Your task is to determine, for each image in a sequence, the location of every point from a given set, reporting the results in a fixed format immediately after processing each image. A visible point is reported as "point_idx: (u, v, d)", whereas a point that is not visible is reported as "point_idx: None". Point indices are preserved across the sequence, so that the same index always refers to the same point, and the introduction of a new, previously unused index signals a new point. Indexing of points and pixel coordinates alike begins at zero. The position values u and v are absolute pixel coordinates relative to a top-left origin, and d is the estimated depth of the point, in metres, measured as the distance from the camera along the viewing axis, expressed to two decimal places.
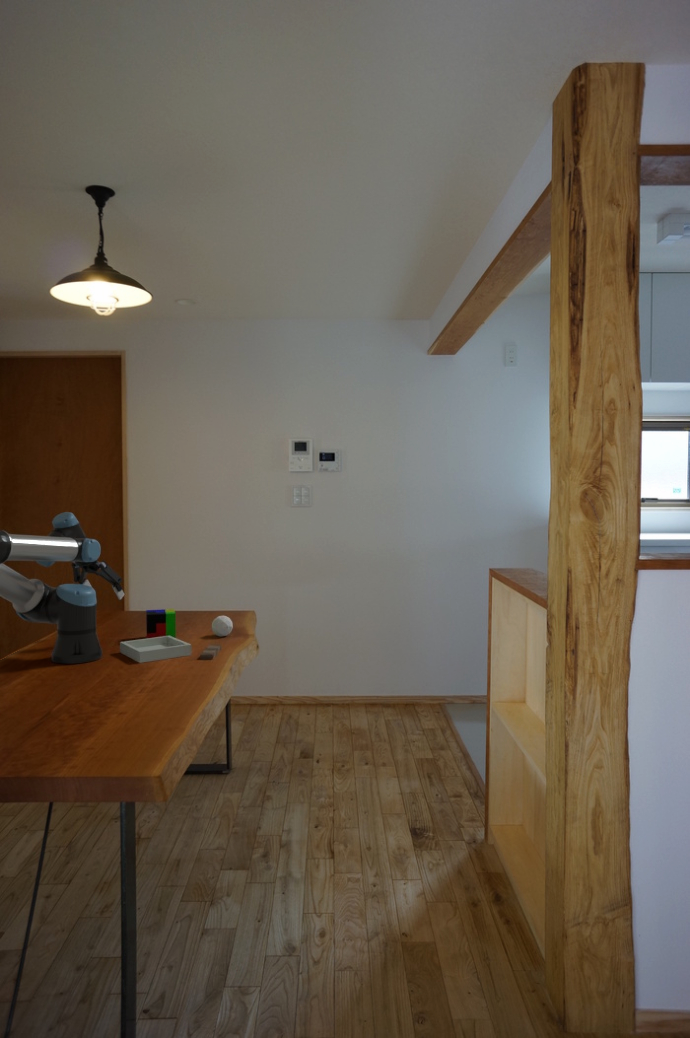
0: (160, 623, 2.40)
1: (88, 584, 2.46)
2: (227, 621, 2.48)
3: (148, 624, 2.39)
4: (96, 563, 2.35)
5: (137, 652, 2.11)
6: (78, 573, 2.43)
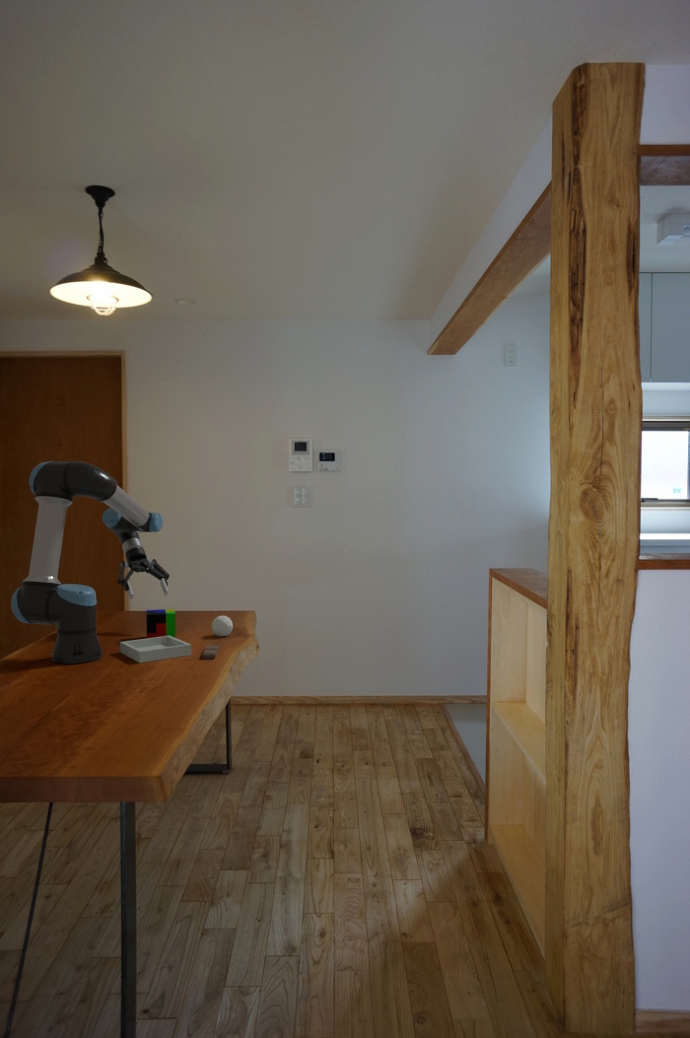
0: (160, 623, 2.40)
1: None
2: (227, 621, 2.48)
3: (148, 624, 2.39)
4: None
5: (137, 652, 2.11)
6: (122, 574, 2.54)
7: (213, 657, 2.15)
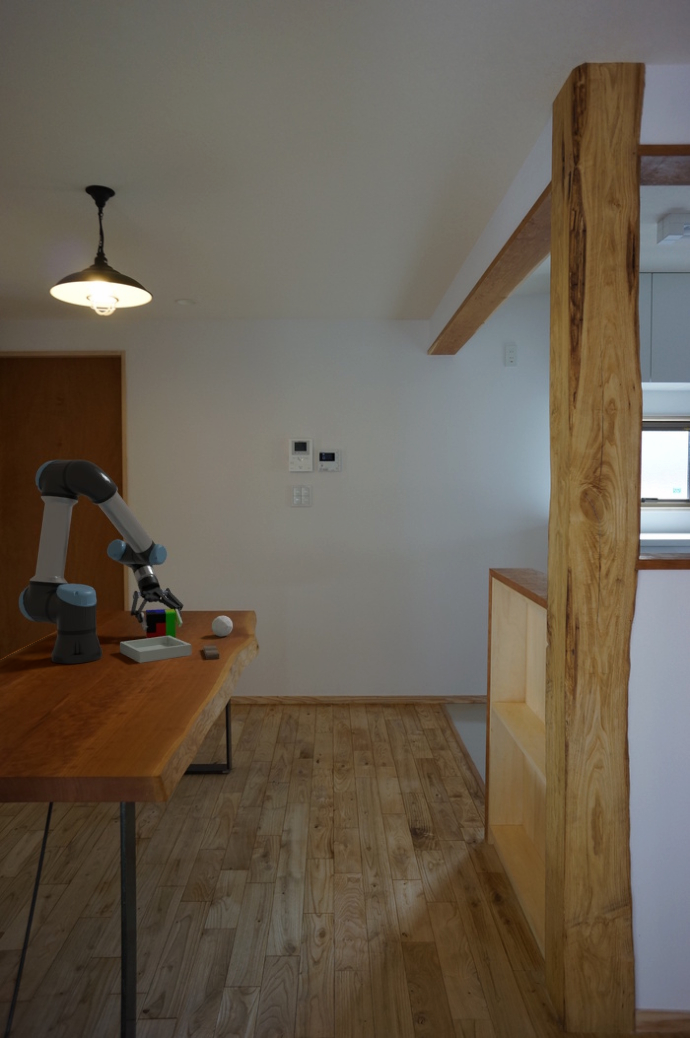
0: (160, 623, 2.40)
1: None
2: (227, 621, 2.48)
3: (148, 624, 2.39)
4: None
5: (137, 652, 2.11)
6: (136, 605, 2.44)
7: (217, 657, 2.16)
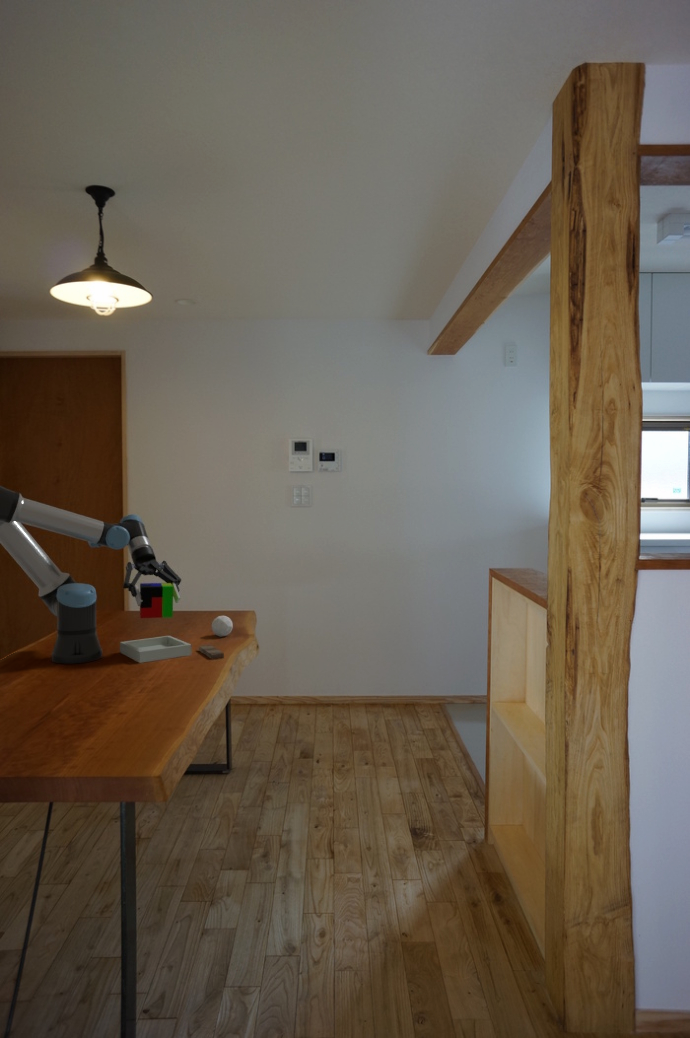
0: (156, 597, 2.17)
1: None
2: (227, 621, 2.48)
3: (143, 598, 2.16)
4: None
5: (137, 652, 2.11)
6: None
7: (222, 656, 2.17)
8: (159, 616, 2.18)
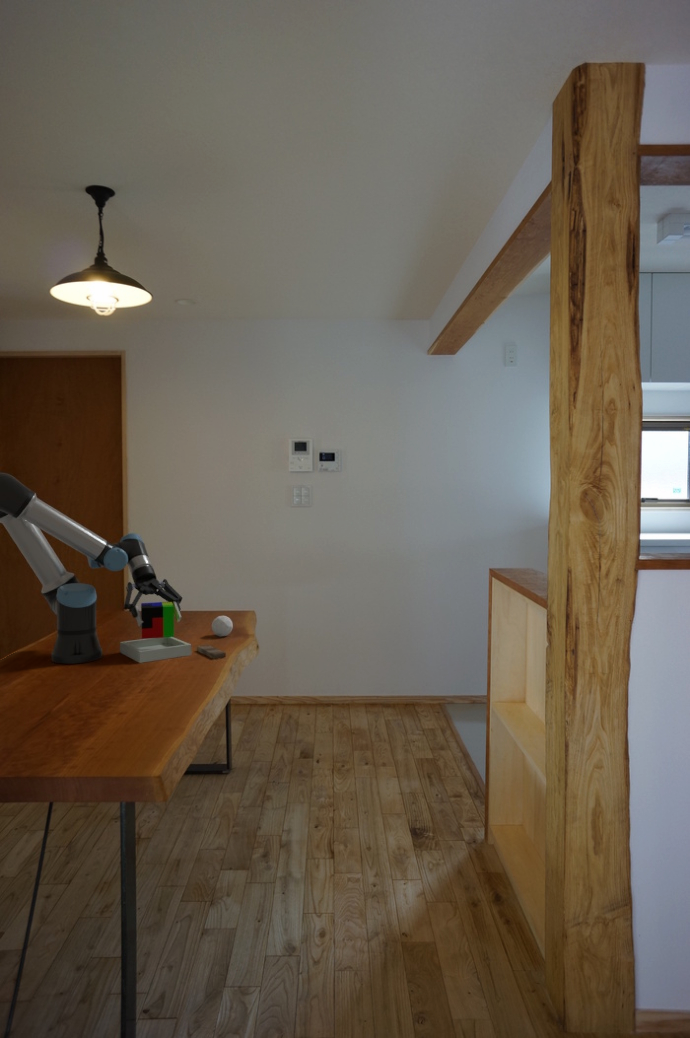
0: (157, 617, 2.17)
1: None
2: (227, 621, 2.48)
3: (143, 618, 2.15)
4: None
5: (137, 652, 2.11)
6: (129, 598, 2.21)
7: (224, 656, 2.17)
8: (160, 636, 2.17)
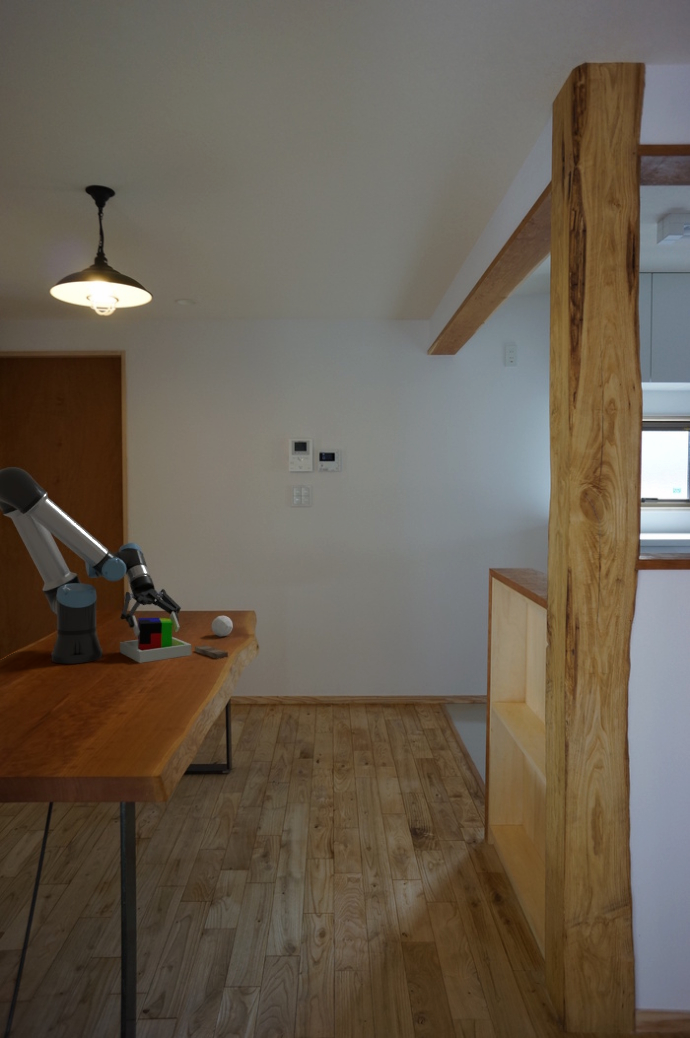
0: (155, 633, 2.16)
1: None
2: (227, 621, 2.48)
3: (142, 634, 2.15)
4: None
5: (137, 652, 2.11)
6: None
7: (226, 655, 2.18)
8: None
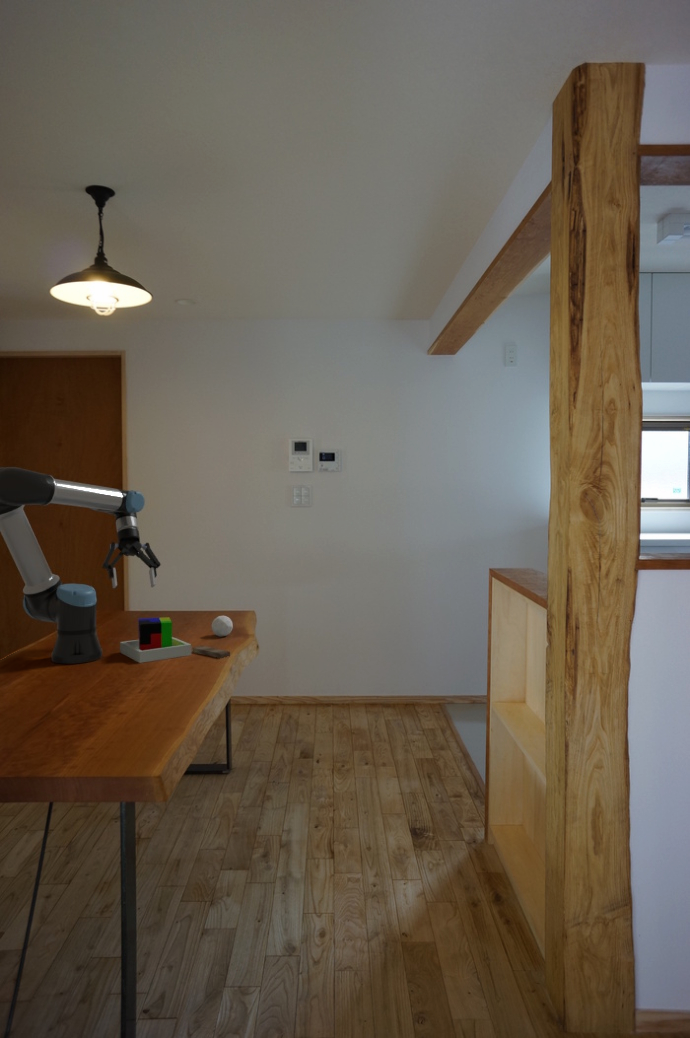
0: (155, 634, 2.17)
1: None
2: (227, 621, 2.48)
3: (142, 635, 2.16)
4: None
5: (137, 652, 2.11)
6: (109, 558, 2.34)
7: (228, 654, 2.19)
8: None
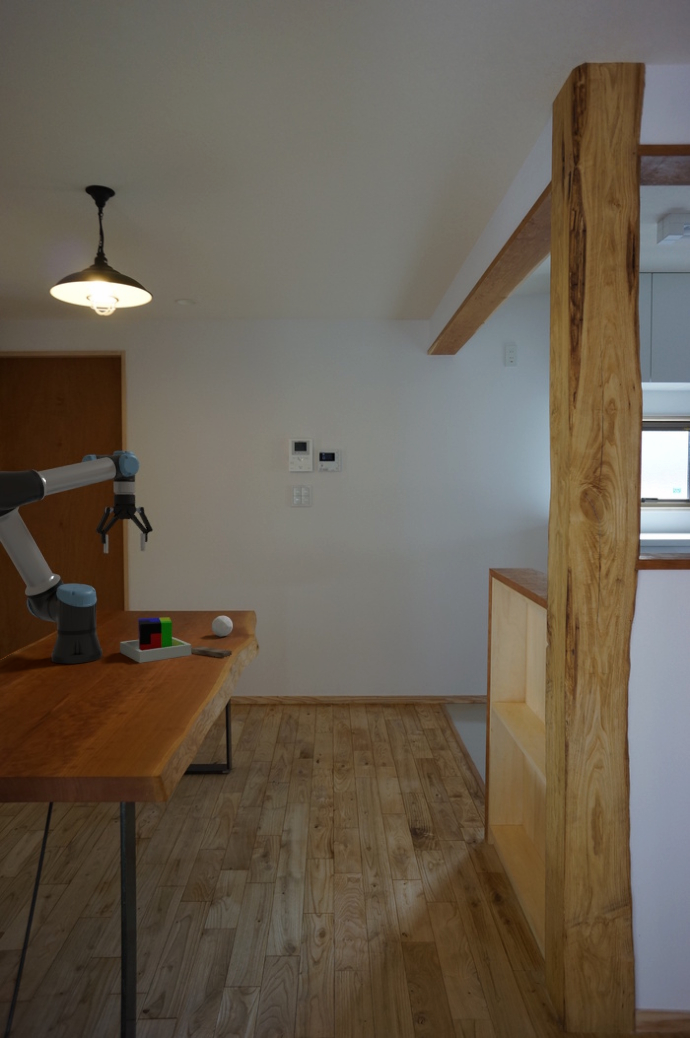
0: (155, 634, 2.17)
1: None
2: (227, 621, 2.48)
3: (142, 635, 2.16)
4: None
5: (137, 652, 2.11)
6: None
7: (230, 654, 2.20)
8: None
